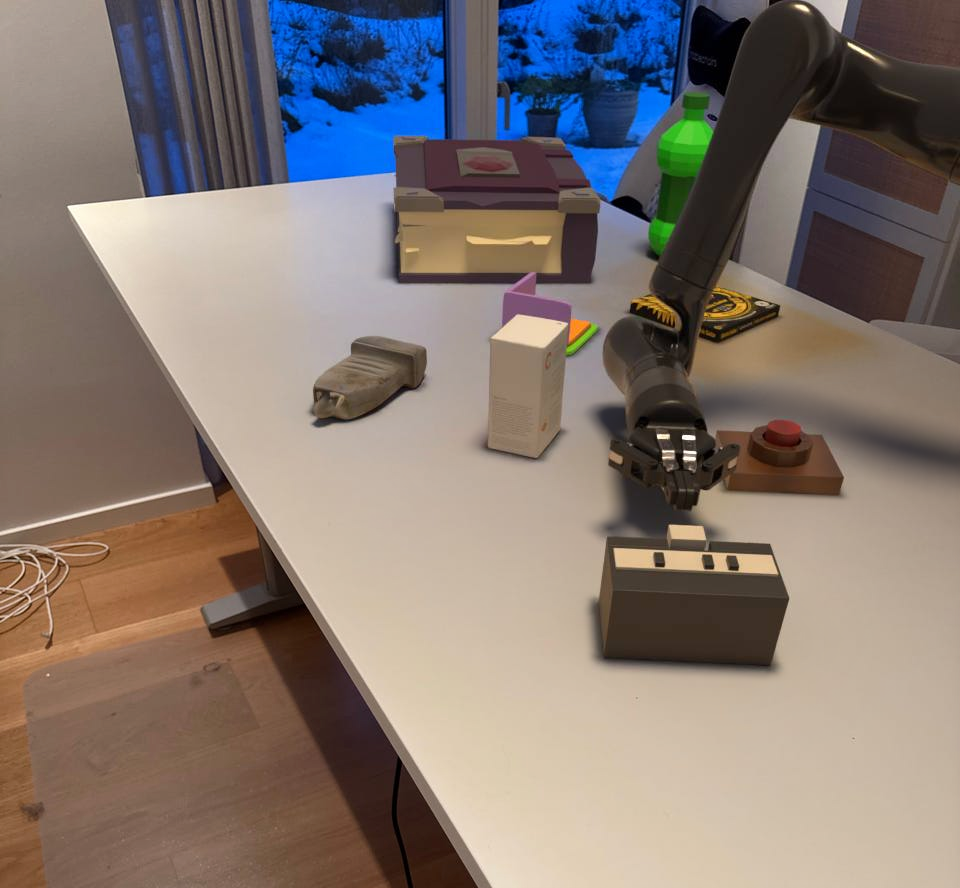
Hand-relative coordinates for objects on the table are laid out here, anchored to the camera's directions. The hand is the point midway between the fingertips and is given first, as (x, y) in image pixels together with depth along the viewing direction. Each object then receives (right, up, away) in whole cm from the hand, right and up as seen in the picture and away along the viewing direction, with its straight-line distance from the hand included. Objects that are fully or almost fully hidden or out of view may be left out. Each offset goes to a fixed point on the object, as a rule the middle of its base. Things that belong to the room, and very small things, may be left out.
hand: (685, 501), depth 85 cm
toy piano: (-1, -11, -1) cm, 11 cm away
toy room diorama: (-9, +31, +52) cm, 62 cm away
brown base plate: (+15, +7, +22) cm, 27 cm away
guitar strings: (+16, +37, +60) cm, 73 cm away
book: (-17, +59, +86) cm, 105 cm away
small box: (-13, +11, +27) cm, 32 cm away
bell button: (+15, +9, +20) cm, 26 cm away
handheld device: (-33, +18, +35) cm, 51 cm away
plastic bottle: (+16, +55, +83) cm, 100 cm away
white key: (0, -5, -1) cm, 5 cm away
